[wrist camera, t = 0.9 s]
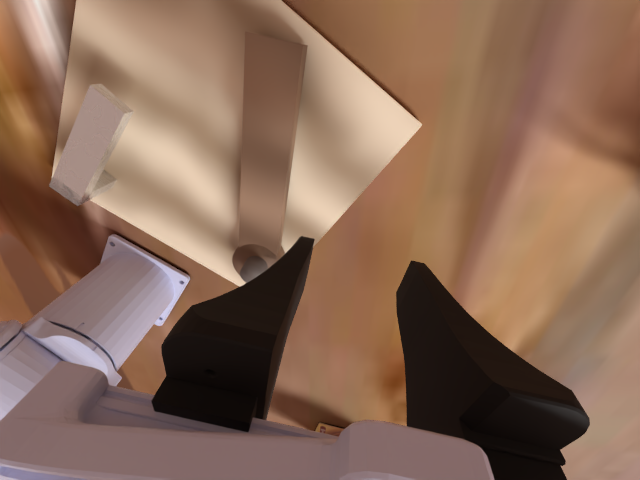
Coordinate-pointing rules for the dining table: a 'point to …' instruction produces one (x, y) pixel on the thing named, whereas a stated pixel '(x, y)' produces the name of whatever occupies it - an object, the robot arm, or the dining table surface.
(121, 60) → the base board
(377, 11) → the dining table surface
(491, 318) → the dining table surface
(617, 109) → the dining table surface
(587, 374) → the dining table surface
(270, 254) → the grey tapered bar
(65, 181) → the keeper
